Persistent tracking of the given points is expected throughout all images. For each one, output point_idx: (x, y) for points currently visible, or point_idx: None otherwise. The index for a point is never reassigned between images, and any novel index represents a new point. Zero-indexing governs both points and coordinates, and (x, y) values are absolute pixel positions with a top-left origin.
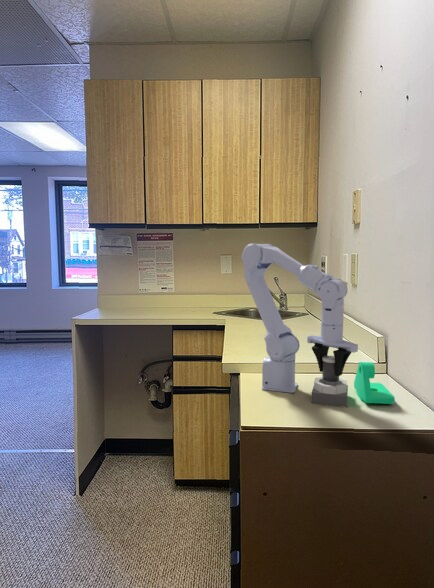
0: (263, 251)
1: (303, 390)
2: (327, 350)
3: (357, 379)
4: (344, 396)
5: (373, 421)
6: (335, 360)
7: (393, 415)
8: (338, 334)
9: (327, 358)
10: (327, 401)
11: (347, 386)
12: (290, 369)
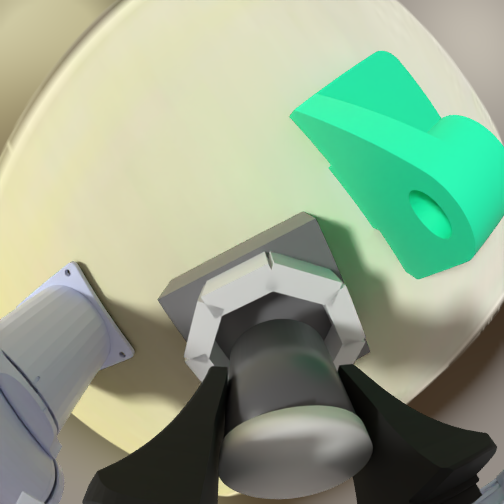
0: None
1: (131, 297)
2: (206, 480)
3: (354, 160)
4: (360, 355)
5: (435, 347)
6: (359, 487)
7: (468, 270)
8: None
9: (283, 489)
10: None
11: (323, 238)
12: (73, 396)
